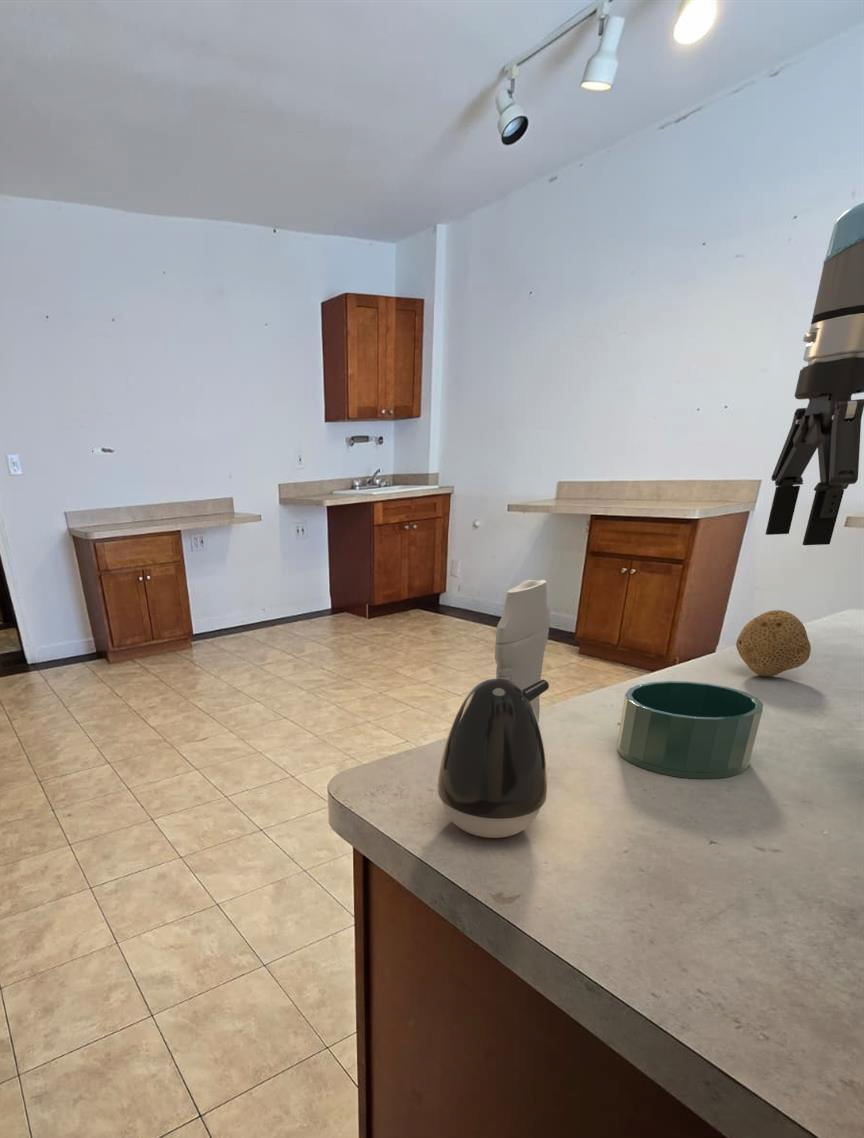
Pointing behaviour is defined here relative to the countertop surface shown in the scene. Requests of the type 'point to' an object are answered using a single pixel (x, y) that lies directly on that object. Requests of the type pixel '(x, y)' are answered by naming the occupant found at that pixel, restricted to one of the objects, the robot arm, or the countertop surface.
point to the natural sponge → (773, 643)
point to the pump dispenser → (494, 761)
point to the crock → (689, 729)
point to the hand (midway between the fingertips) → (795, 539)
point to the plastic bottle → (523, 636)
